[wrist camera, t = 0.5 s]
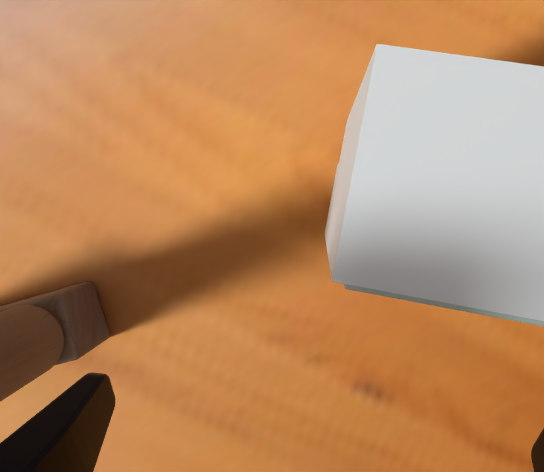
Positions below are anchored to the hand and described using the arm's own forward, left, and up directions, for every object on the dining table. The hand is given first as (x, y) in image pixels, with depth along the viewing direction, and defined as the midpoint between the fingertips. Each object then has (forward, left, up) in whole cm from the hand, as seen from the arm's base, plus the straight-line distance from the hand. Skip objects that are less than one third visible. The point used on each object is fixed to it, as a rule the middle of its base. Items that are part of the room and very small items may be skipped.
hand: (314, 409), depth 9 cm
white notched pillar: (+6, 0, -15) cm, 16 cm away
